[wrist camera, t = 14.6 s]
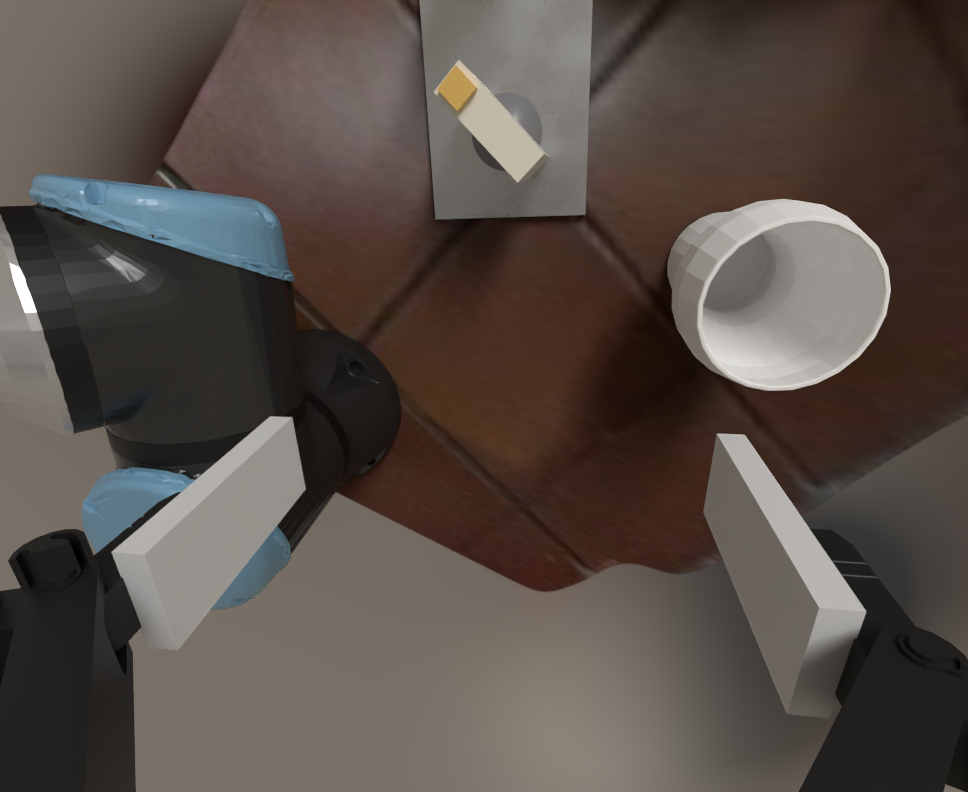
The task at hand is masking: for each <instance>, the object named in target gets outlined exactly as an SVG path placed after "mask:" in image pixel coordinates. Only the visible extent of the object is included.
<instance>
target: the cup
mask: <svg viewBox="0 0 968 792" xmlns="http://www.w3.org/2000/svg"><path fill="white" fill-rule="evenodd" d="M667 275H668V279H669V282H670V286H671V288H672V312H673V316H674V319H675V323H676V327H677V330H678V331H679V333H680V334H681V336H682V338H683V339H684V341H685V343H686V344H687V346H688V347H689V349H690V350H691V352H692V354H693V355H694V356H695V357H696V358H697V359H698V360H699V361H700V362H701V363H703V364H704V365H705V366H706V367H707V368H708V369H709V370H711V371H713V372H715V373H717V374H719V375H721V376H723V377H726V378H728V379H730V380H732V381H734V382H737V383H739V384H741V385H744V386H746V387H751V388H756V389H761V390H766V391H778V390H794V389H797V388H801V387H805V386H809V385H813V384H816V383H818V382H820V381H822V380H824V379H826V378H828V377H830V376H833V375H835V374H837V373H839V372H840V371H841V370H843V369H844V368H845V367H846V366H848V365H849V364H850V363H851V362H853V361H854V360H855V359H857V358H858V357H859V356H860V355H861V354H862V352H863V351H864V350H865V349H866V348H867V346H868V345H869V344H870V343H871V342H872V340H873V339H874V338H875V337H876V334H877V332H878V330H879V328H880V326H881V324H882V322H883V320H884V318H885V316H886V313H887V308H888V303H889V297H890V292H891V288H890V279H889V271H888V266H887V264H886V262H885V260H884V258H883V256H882V254H881V252H880V250H879V247H878V246H877V245H876V244H875V243H874V242H873V241H872V240H871V239H870V238H869V237H868V236H867V235H866V234H865V233H864V232H863V231H862V230H861V229H860V228H859V227H858V226H857V225H856V224H854V223H853V222H852V221H851V220H850V219H849V218H848V217H847V216H845V215H843V214H841V213H839V212H837V211H835V210H833V209H831V208H829V207H827V206H825V205H821V204H814V203H808V202H802V201H796V200H788V199H778V200H768V201H758V202H755V203H752V204H749V205H747V206H744V207H741V208H738V209H735V210H733V211H731V212H720V213H713V214H710V215H707V216H705V217H702V218H700V219H698V220H697V221H695V222H694V223H692V224H691V225H689V226H688V227H687V228H686V229H685V230H684V231H683V232H682V233H681V234H680V235H679V236H678V238H677V240H676V241H675V243H674V245H673V247H672V248H671V251H670V255H669V258H668V266H667Z"/></svg>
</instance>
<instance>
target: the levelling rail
mask: <svg viewBox="0 0 968 792" xmlns="http://www.w3.org/2000/svg"><path fill="white" fill-rule="evenodd" d="M419 2H420V15H421V29H422V43H423V56H424V70H425V84H426V97H427V111H428V125H429V138H430V152H431V166H432V180H433V193H434V207H435V219H467V218H500V217H534V216H567V215H585V210H586V180H587V151H588V122H589V93H590V64H591V34H592V5H593V0H419ZM458 60H460V61H461V62H462V63H463V64H464V65H465V66H466V67H467V68H468V69H469V70H470V71H471V72H472V73H473V74H474V75H475V76H476V77H477V78H478V79H479V80H480V81H481V82H482V83H483V84H484V85H485V86H486V87H487V88H488V89H489V90H490V92H491V93H492V94H493V95H496V94H500V93H506V92H507V93H515V94H518V95H521V96H523V97H524V98H526V99H527V100H528V101H529V102H530V103H531V104H532V105H533V106H534V108H535V109H536V111H537V113H538V115H539V118H540V121H541V127H542V134H541V141H540V145H539V146H540V147H541V148H542V149H543V150H544V151H545V153H546V154H547V155H548V156H549V158H548V159H547V160H546V161H545V162H544V163H543V165H542V166H541V167H540V168H539V169H538V170H537V171H536V172H535V173H534V174H533V175H532V176H531V177H530V179H529V180H526V181H522V182H519V183H517V182H516V181H515V180H514V178H513V177H512V176H511V175H510V174H509V173H508V172H507V171H501V170H496V169H494V168H492V167H490V166H488V165H487V164H485V163H484V162H483V161H482V160H481V159H480V157H479V156H478V154H477V153H476V150H475V148H474V145H473V141H472V133H471V132H470V131H469V130H468V129H467V128H466V127H465V126H464V125H463V123H462V122H461V121H460V120H459V119H458V118H457V117H456V116H455V115H454V114H453V113H452V112H451V111H450V109H449V108H448V107H447V106H446V105H445V104H444V103H443V102H442V101H441V100H440V99H439V98H438V97H437V95H436V94H435V93H434V91H435V89H436V88H437V87H438V86H439V84H440V83H441V82H442V80H443V79H444V78H445V77H446V75H447V74H448V73H449V71H450V70H451V69H452V68H453V66H454V65H455V64H456V62H457V61H458Z"/></svg>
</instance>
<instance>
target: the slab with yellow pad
mask: <svg viewBox="0 0 968 792" xmlns="http://www.w3.org/2000/svg"><path fill="white" fill-rule="evenodd" d="M434 93H435V94H436V95H437V97H438V98H439V99H440V100H441V101H442V102H443V103H444V104H445V105H446V106H447V107H448V108H449V109H450V111H451V112H452V113H453V114H454V115H455V116H456V117H457V118H458V119H459V120H460V121H461V122H462V123H463V125H464V126H465V127H466V128H467V129H468V130H469V131H470V132H471V133H472V141H473V145H474V148H475V150H476V153H477V154H478V156H479V157H480V159H481V160H482V161H483V162H484V163H485V164H487V165H488V166H490V167H492V168H494V169H496V170H501V171H507V172H508V173H509V174H510V175H511V176H512V177H513V178H514V180H515V181H516V182H517V183H519V182H522V181H526V180H529V179H530V177H531V176H532V175H533V174H534V173H535V172H536V171H537V170H538V169H539V168H540V167H541V166H542V165H543V163H544V162H545V161H546V160H547V159H548V158H549V156H548V155H547V154H546V153H545V151H544V150H543V149H542V148H541V147H540V146H539V145H540V141H541V134H542V127H541V121H540V118H539V115H538V113H537V111H536V109H535V108H534V106H533V105H532V104H531V103H530V102H529V101H528V100H527V99H526V98H524V97H523V96H521V95H518V94H515V93H507V92H506V93H500V94H496V95H493V94H492V93H491V92H490V90H489V89H488V88H487V87H486V86H485V85H484V84H483V83H482V82H481V81H480V80H479V79H478V78H477V77H476V76H475V75H474V74H473V73H472V72H471V71H470V70H469V69H468V68H467V67H466V66H465V65H464V64H463V63H462V62H461V61H460V60H458V61H457V62H456V64H455V65H454V66H453V68H452V69H451V70H450V71H449V73H448V74H447V75H446V77H445V78H444V79H443V80H442V82H441V83H440V84H439V86H438V87H437V88H436V89H435V91H434Z"/></svg>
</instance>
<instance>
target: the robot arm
mask: <svg viewBox="0 0 968 792" xmlns="http://www.w3.org/2000/svg"><path fill="white" fill-rule="evenodd" d="M29 195H30V197H31V200H32V201H34V202H37V205H33V206H4V207H0V420H4V419H8V418H18V419H24V420H29V421H31V422H34V423H36V424H39V425H41V426H44V427H46V428H49V429H51V430H54V431H56V432H59V433H62V434H64V435H70V434H74V433H78V432H82V431H86V430H90V429H95V428H99V427H103V426H105V428H106V431H107V435H108V438H109V442H110V445H111V449H112V452H113V455H114V459H115V462H116V469H115V471H110V472H108V473H106V474H105V475H103V476H102V477H100V478H99V479H98V480H97V481H96V483H95V485H94V487H93V488H92V490H91V491H90V494H89V495H88V496H87V498H85V500H84V502H83V506H82V510H81V517H82V524H83V528H84V531H85V533H84V532H83V531H80V530H77V529H65V530H60V531H56V532H51V533H49V534H46V535H43V536H40V537H38V538H35V539H34V540H32V541H30V542H28V543H26V544H24V545H23V546H21V547H20V548H19V549H18V550H16V551H15V552H14V553H13V554H12V556H11V557H10V559H9V560H8V561H9V564H10V565H11V568H12V570H13V572H14V574H15V576H16V578H17V580H18V582H19V584H20V586H21V588H18V589H12V590H5V591H0V792H136V786H135V739H134V694H133V653H132V650H131V647H130V645H129V642H128V641H129V640H130V639H131V638H132V637H133V635H134V634H135V633H136V632H137V631H138V630H139V629H140V628H141V631H142V633H143V635H144V638H145V641H146V643H147V646H148V647H152V648H162V649H172V650H179V648H180V647H181V646H182V645H183V643H184V642H185V641H186V639H187V638H188V637H189V636H190V634H191V633H192V632H193V631H194V629H195V628H196V627H197V626H198V624H199V623H200V621H202V619H203V618H204V617H205V615H206V614H207V613H208V612H209V611H210V610H220V609H227V608H232V607H235V606H238V605H241V604H243V603H245V602H247V601H249V600H250V599H252V598H253V597H255V596H256V595H257V594H259V593H260V592H261V591H262V590H263V589H264V588H265V587H266V585H267V584H268V583H269V582H270V581H271V580H272V579H273V577H274V576H275V575H276V574H277V573H278V572H279V571H280V570H282V569H283V568H285V566H286V565H287V564H288V562H289V559H290V555H291V554H292V552H293V551H294V550H295V548H296V547H297V545H298V544H299V543H300V541H301V540H302V538H303V537H304V535H305V534H306V533H307V531H308V530H309V529H310V527H311V526H312V524H313V523H314V522H315V520H316V519H317V517H318V516H319V515H320V513H321V512H322V510H323V509H324V508H325V506H326V505H327V503H328V502H329V501H330V499H331V498H332V496H333V495H334V494H335V492H336V491H337V489H338V488H339V487H340V485H342V484H344V483H346V482H347V481H349V480H351V479H353V478H355V477H357V476H359V475H361V474H363V473H364V472H366V471H368V470H369V469H371V468H372V467H374V466H375V465H376V464H377V463H378V462H379V461H380V460H381V459H382V458H383V457H384V455H385V454H386V452H387V451H388V449H389V448H390V446H391V445H392V443H393V441H394V440H395V438H396V435H397V433H398V430H399V426H400V420H401V405H400V399H399V395H398V391H397V388H396V386H395V383H394V381H393V379H392V377H391V375H390V374H389V372H388V371H387V369H386V368H385V366H384V365H383V364H382V362H381V361H380V360H379V359H378V358H377V357H376V356H375V355H374V354H373V353H372V352H371V351H370V350H368V349H367V348H366V347H364V346H363V345H361V344H360V343H358V342H357V341H355V340H353V339H351V338H349V337H347V336H344V335H342V334H339V333H336V332H332V331H327V330H318V329H310V330H301V331H297V323H296V314H295V305H294V296H293V287H292V282H294V276H293V273H291V272H290V269H289V264H288V259H287V254H286V248H285V242H284V237H283V231H282V227H281V224H280V222H279V220H278V218H277V216H276V215H275V214H274V212H273V211H272V210H271V209H270V208H268V207H267V206H266V205H264V204H263V203H261V202H258V201H256V200H253V199H249V198H244V197H237V196H229V195H222V194H214V193H206V192H198V191H190V190H181V189H172V188H165V187H157V186H148V185H140V184H130V183H122V182H114V181H105V180H95V179H84V178H75V177H66V176H59V175H47V174H40V175H37V176H36V177H35V178H34V179H33V180H32V188H31V190H30V191H29ZM704 515H705V517H706V520H707V522H708V524H709V527H710V529H711V532H712V534H713V537H714V539H715V541H716V544H717V546H718V549H719V551H720V553H721V556H722V558H723V561H724V563H725V565H726V568H727V570H728V573H729V575H730V578H731V580H732V582H733V585H734V587H735V590H736V592H737V594H738V597H739V599H740V602H741V604H742V607H743V609H744V611H745V614H746V616H747V619H748V621H749V623H750V626H751V628H752V631H753V633H754V635H755V638H756V640H757V643H758V645H759V647H760V650H761V652H762V655H763V657H764V659H765V662H766V664H767V667H768V669H769V672H770V674H771V676H772V679H773V681H774V684H775V686H776V689H777V691H778V693H779V696H780V698H781V701H782V703H783V705H784V708H785V710H786V713H787V714H793V715H803V716H813V717H823V718H829V716H830V714H831V711H832V708H833V705H834V702H835V699H836V697H837V699H838V700H839V702H840V704H841V706H842V708H841V710H840V712H839V714H838V716H837V717H836V719H835V722H834V723H833V725H832V727H831V729H830V731H829V733H828V735H827V737H826V739H825V741H824V743H823V745H822V747H821V749H820V751H819V753H818V755H817V757H816V759H815V761H814V763H813V765H812V767H811V769H810V771H809V773H808V775H807V777H806V779H805V781H804V783H803V785H802V787H801V789H800V790H799V792H943V790H944V787H945V784H947V785H949V786H952V787H955V788H957V789H960V790H963V791H965V792H968V659H967V658H966V656H965V655H964V654H963V653H962V652H960V651H959V650H958V649H957V648H956V647H955V646H953V645H952V644H951V643H950V642H948V641H946V640H944V639H943V638H941V637H939V636H937V635H936V634H934V633H932V632H929V631H926V630H923V629H921V628H918V627H916V626H915V625H914V624H913V622H912V621H911V620H910V619H909V617H908V616H907V615H906V613H905V612H904V611H903V610H902V608H901V607H900V606H899V604H898V603H897V602H896V600H895V599H894V598H893V597H892V595H891V594H890V593H889V592H888V590H887V589H886V588H885V586H884V585H883V584H882V583H881V581H880V580H879V579H876V575H875V573H874V572H873V571H872V570H871V568H870V567H869V566H868V565H866V564H865V560H864V559H863V558H862V557H861V555H860V554H859V553H858V551H857V550H856V549H855V548H854V546H853V545H852V544H850V543H849V542H848V541H846V540H845V539H843V538H842V537H841V536H839V535H838V534H837V533H835V532H834V531H833V530H823V529H809V528H808V526H807V524H806V523H805V522H804V520H803V519H802V517H801V516H800V514H799V513H798V511H797V510H796V508H795V507H794V506H793V504H792V503H791V501H790V500H789V498H788V497H787V495H786V494H785V493H784V491H783V490H782V488H781V487H780V485H779V484H778V482H777V481H776V479H775V478H774V477H773V475H772V474H771V472H770V471H769V469H768V468H767V466H766V465H765V463H764V462H763V461H762V459H761V458H760V456H759V455H758V453H757V452H756V450H755V449H754V448H753V446H752V445H751V443H750V442H749V440H748V439H747V437H746V436H745V435H738V434H717V436H716V442H715V448H714V453H713V459H712V465H711V471H710V477H709V483H708V488H707V494H706V500H705V506H704ZM85 534H86V536H87V538H88V540H89V542H90V544H91V545H92V547H93V548H94V550H95V551H96V554H95V555H93V553H92V550H91V548H90V546H89V543H88V541H87V538H86V536H85Z"/></svg>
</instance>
